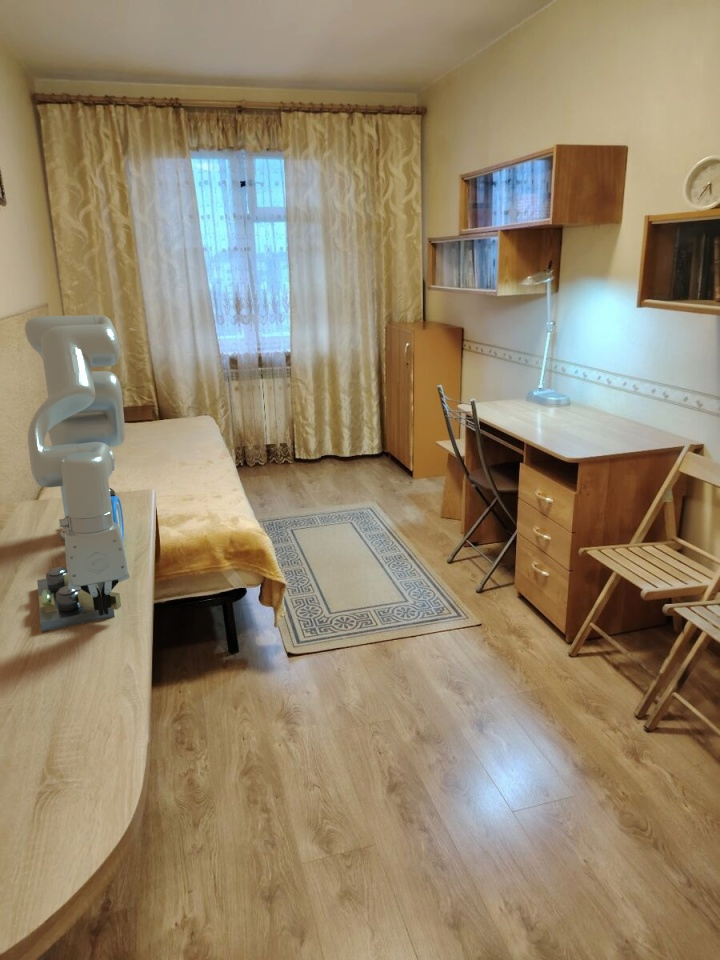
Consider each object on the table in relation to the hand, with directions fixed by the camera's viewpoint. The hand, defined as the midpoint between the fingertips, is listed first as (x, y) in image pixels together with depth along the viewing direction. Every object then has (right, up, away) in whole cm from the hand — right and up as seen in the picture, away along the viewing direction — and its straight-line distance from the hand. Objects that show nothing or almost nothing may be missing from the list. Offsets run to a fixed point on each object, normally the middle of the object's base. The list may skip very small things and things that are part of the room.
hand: (103, 611), depth 126 cm
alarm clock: (-12, +8, +36) cm, 39 cm away
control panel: (-10, 0, +11) cm, 15 cm away
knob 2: (-4, 0, +4) cm, 6 cm away
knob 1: (-10, +2, +11) cm, 15 cm away
